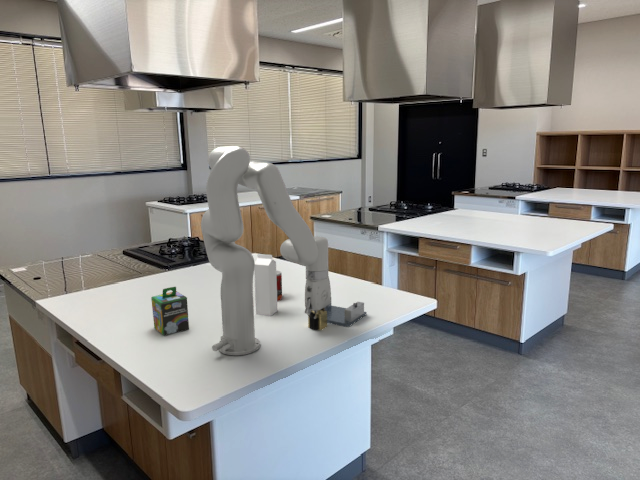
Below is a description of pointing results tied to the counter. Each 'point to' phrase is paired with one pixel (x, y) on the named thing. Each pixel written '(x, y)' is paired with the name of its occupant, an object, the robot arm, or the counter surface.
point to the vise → (338, 316)
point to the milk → (265, 285)
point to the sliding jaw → (354, 311)
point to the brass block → (321, 319)
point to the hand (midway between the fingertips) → (317, 326)
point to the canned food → (279, 285)
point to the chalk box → (170, 312)
